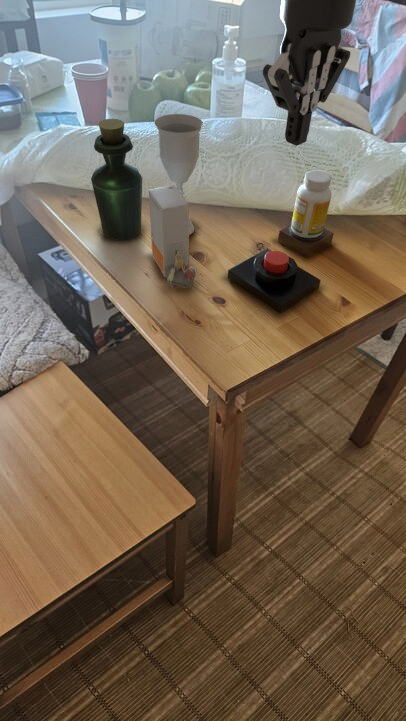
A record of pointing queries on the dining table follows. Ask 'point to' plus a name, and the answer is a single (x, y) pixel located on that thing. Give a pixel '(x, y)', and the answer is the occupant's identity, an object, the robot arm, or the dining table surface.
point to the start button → (276, 262)
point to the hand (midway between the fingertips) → (295, 142)
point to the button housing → (273, 282)
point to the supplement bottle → (312, 204)
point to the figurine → (180, 273)
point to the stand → (305, 241)
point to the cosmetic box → (168, 226)
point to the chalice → (179, 147)
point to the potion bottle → (117, 183)
